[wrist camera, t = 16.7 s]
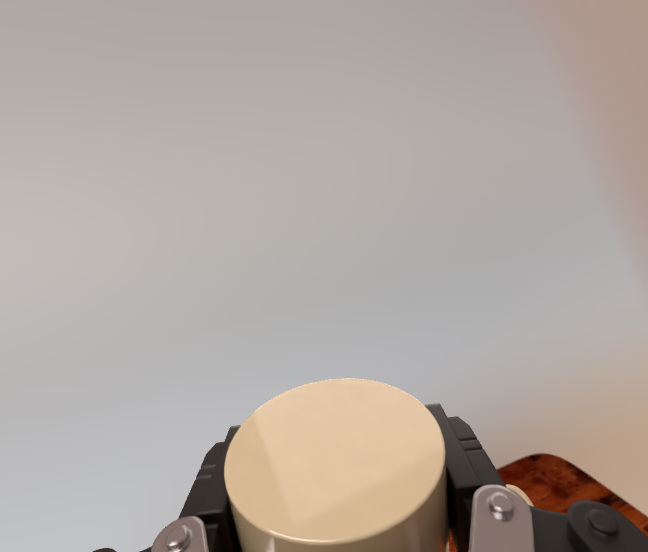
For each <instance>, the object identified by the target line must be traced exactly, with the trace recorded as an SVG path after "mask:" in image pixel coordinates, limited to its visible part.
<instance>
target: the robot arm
mask: <svg viewBox="0 0 648 552" xmlns="http://www.w3.org/2000/svg"><path fill="white" fill-rule="evenodd" d="M424 406H425V407H426V408H427V409H428V410H429V411H430V412H431V414H432V415H433V416H434V418H435V419H436V421H437V423H438V425H439V427H440V429H441V431H442V434H443V437H444V441H445V449H446V467H447V488H448V510H449V530H450V532H451V535H452V538H453V541H454V543H455V546H456V549H457V552H648V537H647V536H646V535H645V534H644V533H643V532H642V531H640V530H639V529H638V528H637V527H636V526H635V525H634V524H633V523H632V522H631V521H630V520H629V519H627V518H626V517H625V516H624V515H623V514H621V513H620V512H618V511H617V510H615V509H613V508H612V507H609V506H607V505H605V504H602V503H599V502H595V501H589V500H581V501H577V502H574V503H573V504H571V506H570V507H569V509H568V514H565V513H559V512H554V511H548V510H543V509H539V508H536V507H533V506H530V505H528V504H527V502H526V501H525V500H524V499H523V498H522V497H521V496H520V495H519V494H518V493H516V492H515V491H513V490H511V489H509V488H507V487H506V485H505V484H504V482H503V480H502V479H501V477H500V475H499V474H498V472H497V470H496V469H495V467H494V465H493V464H492V462H491V460H490V459H489V457H488V456H487V454H486V452H485V451H484V450H483V448H482V446H481V444H480V442H479V441H478V440H477V438H476V436H475V434H474V432H473V431H472V429H471V428H470V426H469V425H468V424H466V423H465V422H464V421H463V420H461V419H460V418H459V417H449V418H447V416H446V415H445V412H444V410H443V409H442V407H441V405H440V404H439V403H438V404H428V405H424ZM240 426H241V425H238V426H232V427H230V429H229V431H228V434H227V437H226V439H225V442H220V443H216V444H215V445H214V446H213V447H212V448H211V450H210V451H209V452H208V453H207V454H206V456H205V458H204V461H203V463H202V465H201V469H200V470H199V472H198V474H197V477H196V480H195V481H194V484H193V486H192V488H191V490H190V493H189V495H188V497H187V500H186V502H185V504H184V507H183V509H182V512H181V514H180V516H179V518H178V519H177V520H176V521H174V522H172V523H170V524H169V525H168V526H167V527H165V528H164V529H163V530H162V531H161V532H160V534H159V535H158V536H157V538H156V539H155V541H154V543H153V545H152V547H150V548H147V549H145V550H143V551H140V552H241V548H240V543H239V539H238V535H237V531H236V527H235V523H234V519H233V515H232V511H231V507H230V503H229V499H228V494H227V490H226V485H225V480H224V465H225V459H226V454H227V451H228V448H229V445H230V443H231V441H232V439H233V437H234V435H235V434H236V432H237V431H238V429H239V428H240ZM93 552H116V551H115V550H113V549H110V548H103V549H99V550H96V551H93Z"/></svg>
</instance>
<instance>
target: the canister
mask: <svg viewBox="0 0 648 552" xmlns="http://www.w3.org/2000/svg"><path fill="white" fill-rule="evenodd" d="M224 480H225V485H226V490H227V494H228V499H229V503H230V507H231V511H232V515H233V519H234V523H235V527H236V531H237V535H238V539H239V543H240V548H241V552H450V531H449V510H448V488H447V467H446V449H445V441H444V437H443V434H442V431H441V429H440V427H439V425H438V423H437V421H436V419H435V418H434V416H433V415H432V414H431V412H430V411H429V410H428V409H427V408H426V407H425V406H424V405H423V404H422V403H421V402H420V401H418V400H417V399H416V398H414V397H413V396H411V395H410V394H408V393H406V392H404V391H402V390H400V389H398V388H396V387H393V386H390V385H388V384H384V383H380V382H376V381H370V380H364V379H346V378H345V379H332V380H323V381H318V382H314V383H309V384H306V385H302V386H299V387H297V388H294V389H291V390H289V391H287V392H284V393H282V394H280V395H278V396H276V397H275V398H273V399H271V400H270V401H268V402H267V403H265V404H264V405H262V406H261V407H260V408H258V409H257V410H256V411H255V412H254V413H253V414H252V415H250V416H249V417H248V418H247V419H246V421H245V422H244V423H243V424H242V425H241V426H240V428H239V429H238V431H237V432H236V434H235V435H234V437H233V439H232V441H231V443H230V445H229V448H228V451H227V454H226V459H225V465H224Z"/></svg>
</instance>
